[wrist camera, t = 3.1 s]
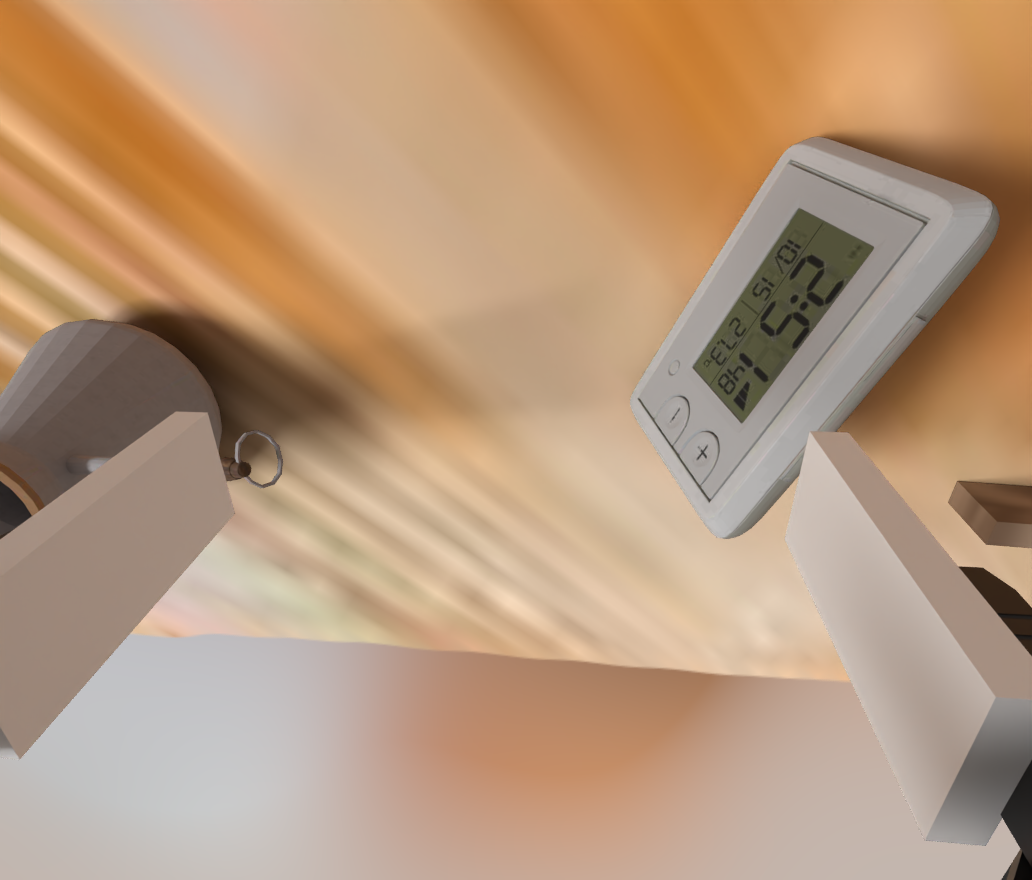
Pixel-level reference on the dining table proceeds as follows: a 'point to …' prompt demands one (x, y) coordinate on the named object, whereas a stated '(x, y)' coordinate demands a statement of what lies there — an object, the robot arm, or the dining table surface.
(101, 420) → the coffee pot
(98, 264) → the dining table surface
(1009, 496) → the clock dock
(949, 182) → the digital clock
